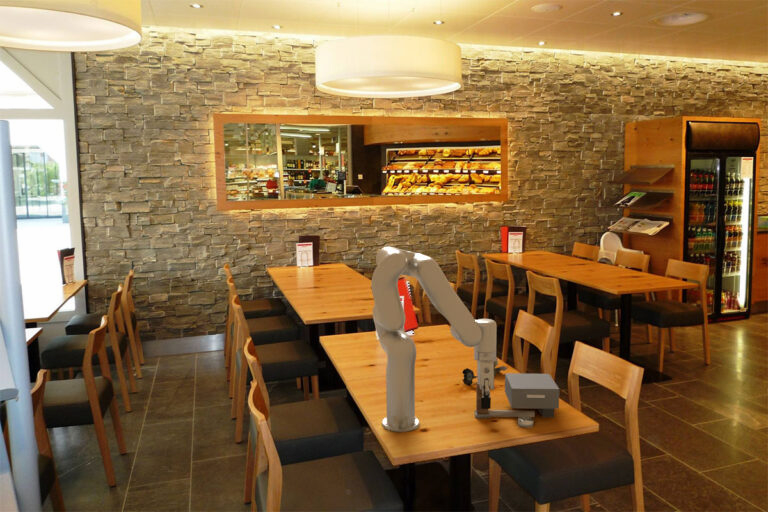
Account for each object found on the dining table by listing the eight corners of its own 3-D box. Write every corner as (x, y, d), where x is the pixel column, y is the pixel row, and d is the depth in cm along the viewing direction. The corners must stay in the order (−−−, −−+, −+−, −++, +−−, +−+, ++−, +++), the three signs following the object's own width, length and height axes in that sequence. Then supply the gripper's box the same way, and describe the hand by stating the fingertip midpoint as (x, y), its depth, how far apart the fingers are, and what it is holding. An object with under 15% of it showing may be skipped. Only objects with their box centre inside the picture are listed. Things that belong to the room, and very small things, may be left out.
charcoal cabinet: (558, 420, 203) (559, 389, 202) (511, 420, 204) (512, 389, 203) (548, 402, 220) (549, 373, 218) (504, 401, 221) (505, 373, 219)
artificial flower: (457, 384, 244) (455, 360, 245) (498, 380, 256) (495, 357, 258) (472, 385, 236) (470, 359, 238) (513, 380, 249) (510, 356, 250)
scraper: (535, 419, 205) (536, 385, 203) (475, 418, 206) (475, 384, 205) (533, 414, 209) (534, 381, 207) (474, 413, 210) (474, 380, 209)
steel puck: (534, 428, 198) (534, 422, 198) (519, 428, 198) (519, 422, 198) (531, 422, 203) (531, 416, 202) (517, 422, 203) (517, 416, 203)
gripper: (499, 362, 196) (498, 414, 198) (492, 347, 213) (492, 395, 216) (476, 362, 197) (476, 413, 199) (471, 347, 214) (471, 395, 216)
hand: (484, 403), depth 207 cm, fingers open, 7 cm apart
